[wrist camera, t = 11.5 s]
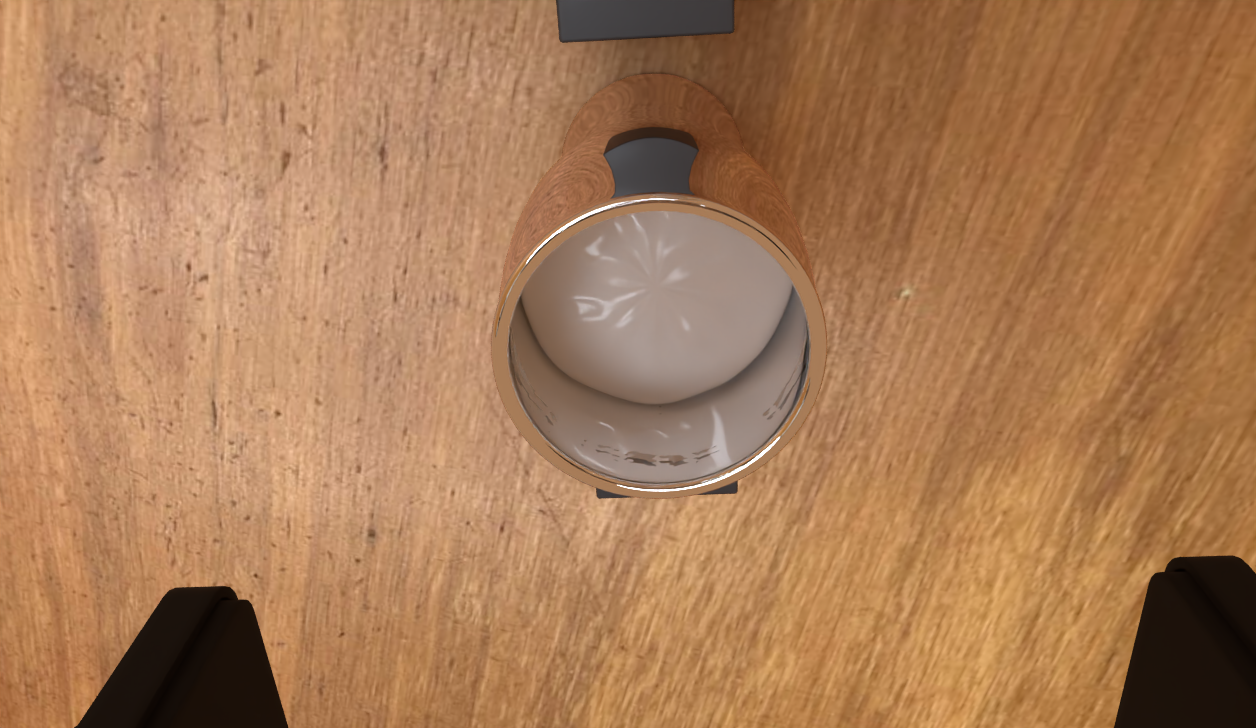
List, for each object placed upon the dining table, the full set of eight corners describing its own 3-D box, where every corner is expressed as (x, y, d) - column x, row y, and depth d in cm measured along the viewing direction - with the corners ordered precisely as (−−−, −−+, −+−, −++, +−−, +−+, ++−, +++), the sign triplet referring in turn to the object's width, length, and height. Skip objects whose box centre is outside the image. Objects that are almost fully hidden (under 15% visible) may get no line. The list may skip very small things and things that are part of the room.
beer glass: (510, 195, 33) (416, 404, 19) (621, 13, 30) (602, 106, 17) (680, 300, 34) (703, 561, 21) (799, 135, 32) (914, 311, 18)
